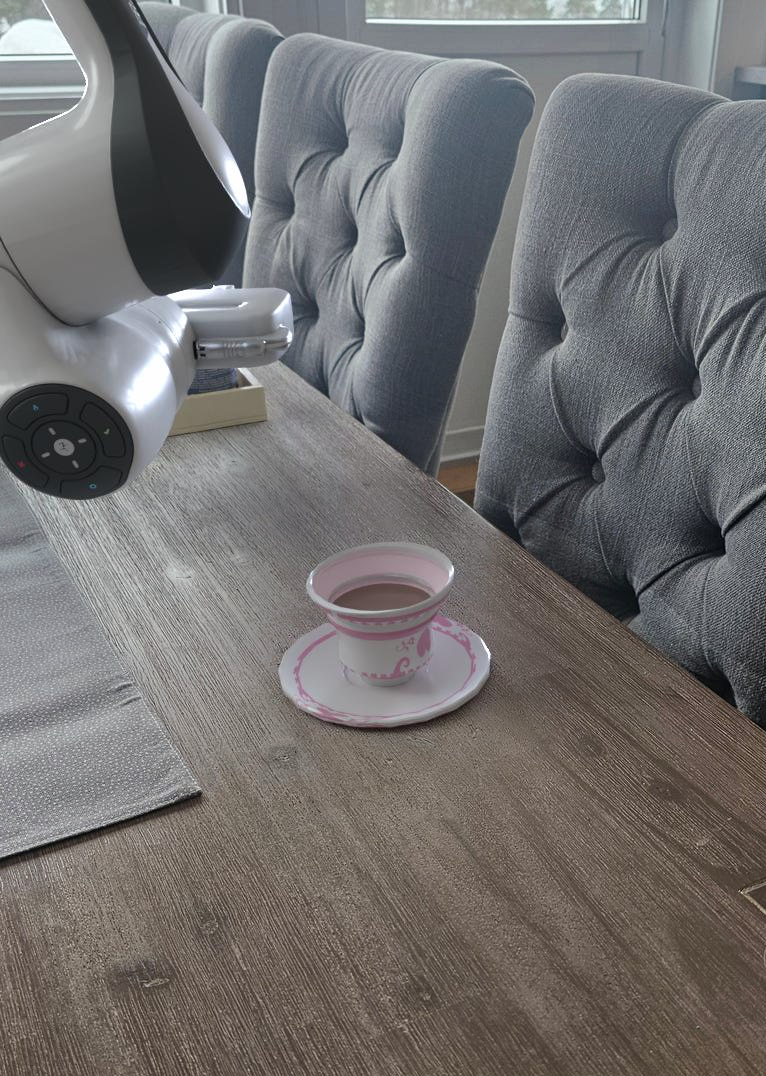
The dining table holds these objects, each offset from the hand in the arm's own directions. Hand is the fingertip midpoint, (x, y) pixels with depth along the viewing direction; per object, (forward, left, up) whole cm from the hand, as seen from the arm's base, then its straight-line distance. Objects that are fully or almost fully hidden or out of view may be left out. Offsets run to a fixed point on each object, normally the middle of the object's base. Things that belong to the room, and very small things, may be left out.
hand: (161, 297), depth 83 cm
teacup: (+18, -31, -13) cm, 39 cm away
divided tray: (-6, +14, -13) cm, 20 cm away
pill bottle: (-1, +12, -13) cm, 17 cm away
